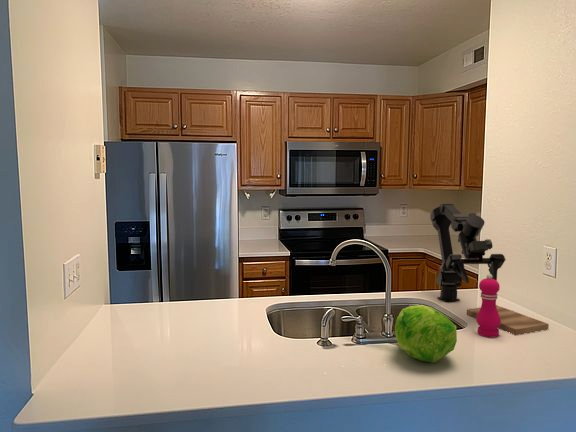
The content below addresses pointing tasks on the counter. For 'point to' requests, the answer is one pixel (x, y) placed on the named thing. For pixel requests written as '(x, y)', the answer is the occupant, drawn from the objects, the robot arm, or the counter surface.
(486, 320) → the pepper mill
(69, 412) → the counter surface
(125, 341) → the counter surface
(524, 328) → the walnut board
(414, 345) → the lettuce
